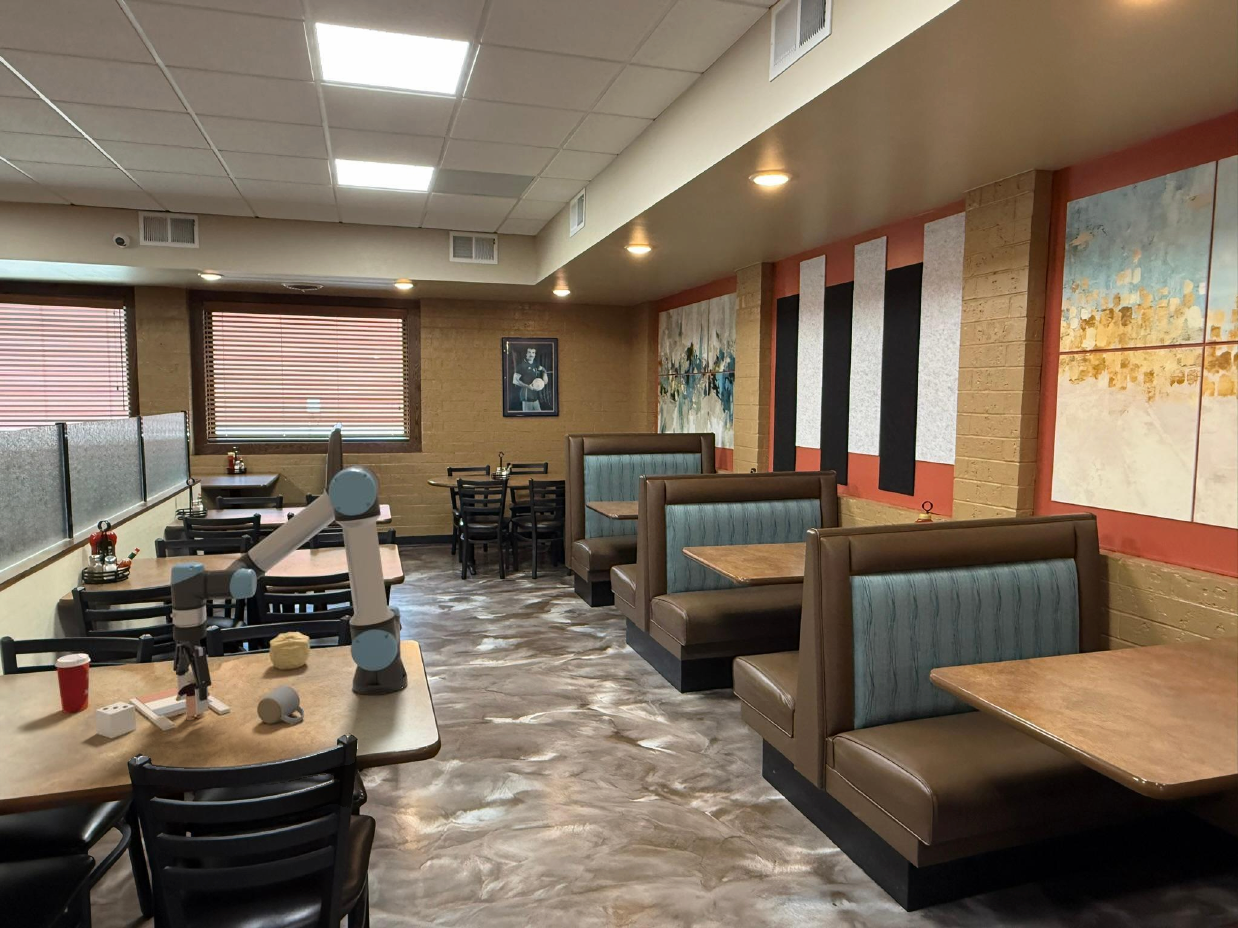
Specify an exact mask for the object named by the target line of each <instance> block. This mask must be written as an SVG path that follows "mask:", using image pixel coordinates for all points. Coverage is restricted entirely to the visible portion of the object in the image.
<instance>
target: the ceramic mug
mask: <svg viewBox="0 0 1238 928" xmlns="http://www.w3.org/2000/svg"><path fill="white" fill-rule="evenodd" d="M300 699H301V698H300V696H299V694H298V692H297V691H296V690H295V689H294V688H293V687H291V686H290V685H280V686H278V687H277V688H275V689H274V690H273V691H271V692H269V693H268V694H267V695H265V696H264V697H263V698H262V699H260V701H259V702H258V704H257V711H256V712H257V716H258V717H259V719H260V720H261V721H263V722H264V723H266V724H267V725H268V724H269V725H273V724H277V723H279V722H281V721H283V722H284V723H288V724H297V723H299V722H301V721H302V720H303V719H304V716H305V712H304V711H305V710H304V709H303V708H302V707H301V706H300V703H301V701H300ZM296 712H298V713H299V714H300V716H299V717H294V718H293V717H290V715H293V714H294V713H296Z"/></svg>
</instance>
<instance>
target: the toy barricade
mask: <svg viewBox="0 0 1238 928" xmlns="http://www.w3.org/2000/svg"><path fill="white" fill-rule="evenodd" d="M177 695H178V689H177V687H173V688H168V689H165V690H160V691H156V692H152V693H148V694H144V695H139V696H136V697H134V698H129V704H130V705H134V706H135V710H137V711H139V712H140V713H141V714H142V715H144V716H145V717H146V718H147V717H148V718H147V719H148V720H149V721H151V722H152V723H153V724H155V725H156V726H157V727H158V728H160V730H162V731H167V730H170V729H174V728H175V723H174V722H173V721H171V720H170V719H169V718H171V717H175V716H178V714H179V715H181V714H182V715H183V714H185V713H186V699H185V700H181V701H176V698H177ZM208 708H210V709H211V708H212V709H211V710H213V711H214V712H215V713H217V714H219V715H224V714H227V713H231V708H230V706H228V705H226V704H225V703H224V702H222V701H220V700H219V699H217V698H215V697H214V696H213V695H211V694H210V696H208ZM186 714H187V713H186Z"/></svg>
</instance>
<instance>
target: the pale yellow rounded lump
mask: <svg viewBox="0 0 1238 928" xmlns="http://www.w3.org/2000/svg"><path fill="white" fill-rule="evenodd" d="M309 642H310V637H309V636H307V635H306V634H305V635H304V634H303V633H300V632H299V631H296V632H294V631H292V632H291V631H288V632H286V633H279V634H278V635H277V636H276V637H275V638H273V639H271V640H270V641H269V644H270V645H269V646H270V647H269V659H270V661H271V663H272V665H273V666H274V667H275V668H277V669H279V670H293V669H298V668H301V667H302V666H303V665H305V664H306V662H307V661H308V659H309V656H310V651H311V646H310V643H309Z"/></svg>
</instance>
